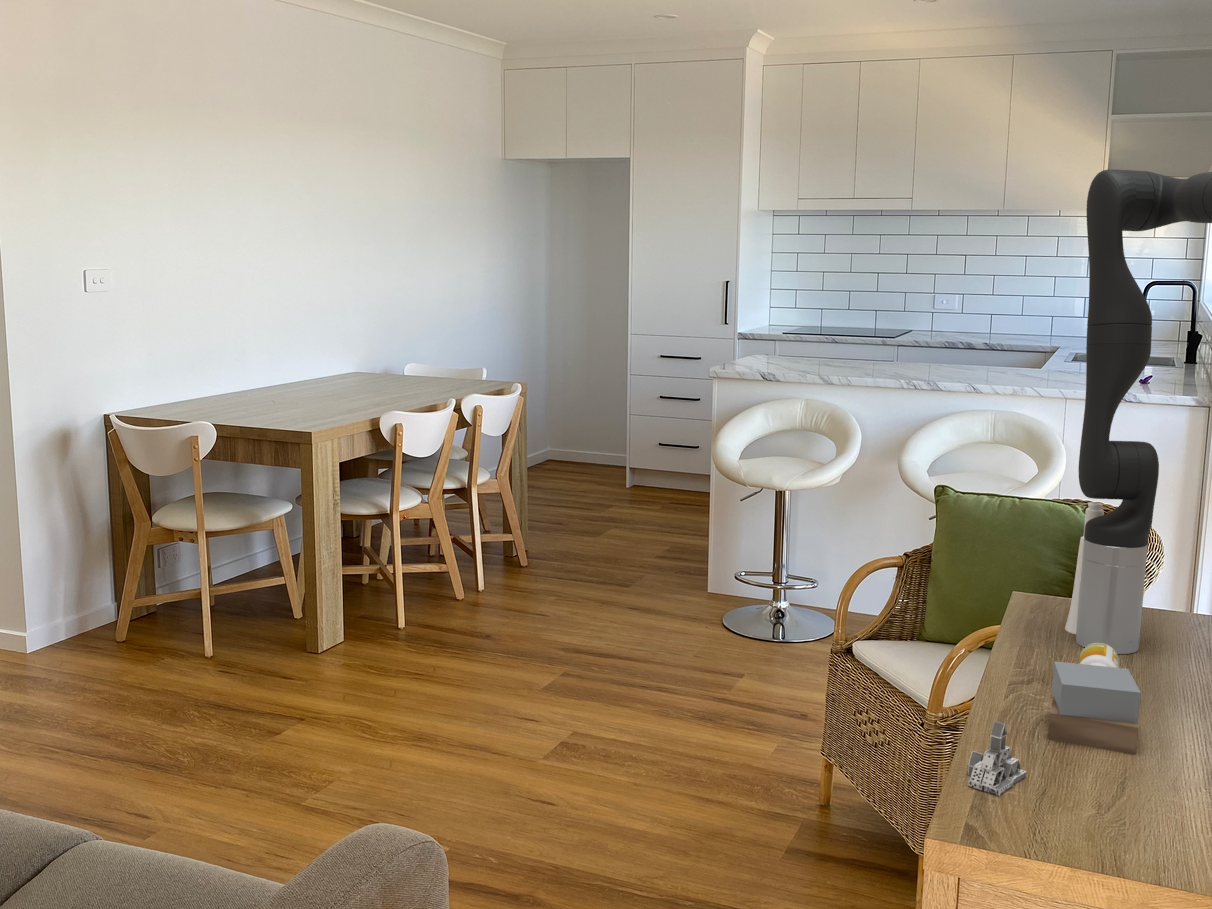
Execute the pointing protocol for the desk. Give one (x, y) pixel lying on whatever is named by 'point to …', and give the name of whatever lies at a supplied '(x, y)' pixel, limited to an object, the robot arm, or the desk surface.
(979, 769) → the house of cards
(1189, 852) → the desk surface
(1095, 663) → the supplement bottle
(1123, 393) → the robot arm
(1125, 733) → the base block
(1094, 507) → the cosmetic bottle
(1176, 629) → the desk surface
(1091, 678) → the top block
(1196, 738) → the desk surface
